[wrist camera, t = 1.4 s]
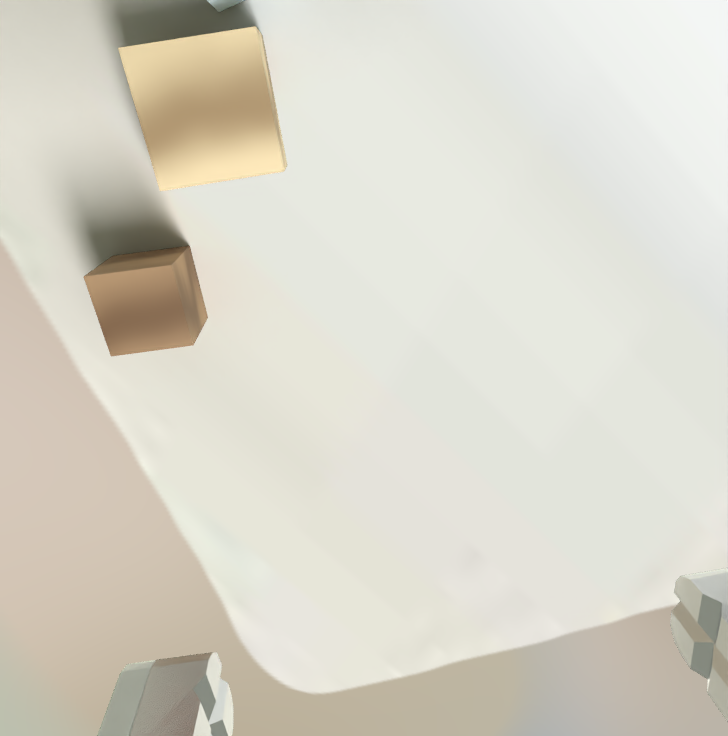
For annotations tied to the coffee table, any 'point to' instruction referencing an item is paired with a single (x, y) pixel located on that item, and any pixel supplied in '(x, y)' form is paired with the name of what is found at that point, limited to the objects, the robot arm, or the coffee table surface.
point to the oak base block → (206, 107)
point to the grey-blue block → (223, 4)
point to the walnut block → (148, 300)
